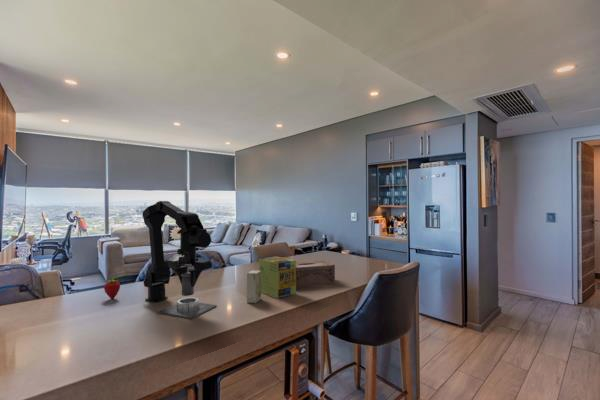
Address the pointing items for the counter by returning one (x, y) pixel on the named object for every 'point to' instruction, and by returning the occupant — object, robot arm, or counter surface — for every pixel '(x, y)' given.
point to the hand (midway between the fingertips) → (187, 286)
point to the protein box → (278, 276)
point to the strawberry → (112, 288)
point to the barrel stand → (187, 308)
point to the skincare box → (253, 286)
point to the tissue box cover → (314, 273)
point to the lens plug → (187, 284)
